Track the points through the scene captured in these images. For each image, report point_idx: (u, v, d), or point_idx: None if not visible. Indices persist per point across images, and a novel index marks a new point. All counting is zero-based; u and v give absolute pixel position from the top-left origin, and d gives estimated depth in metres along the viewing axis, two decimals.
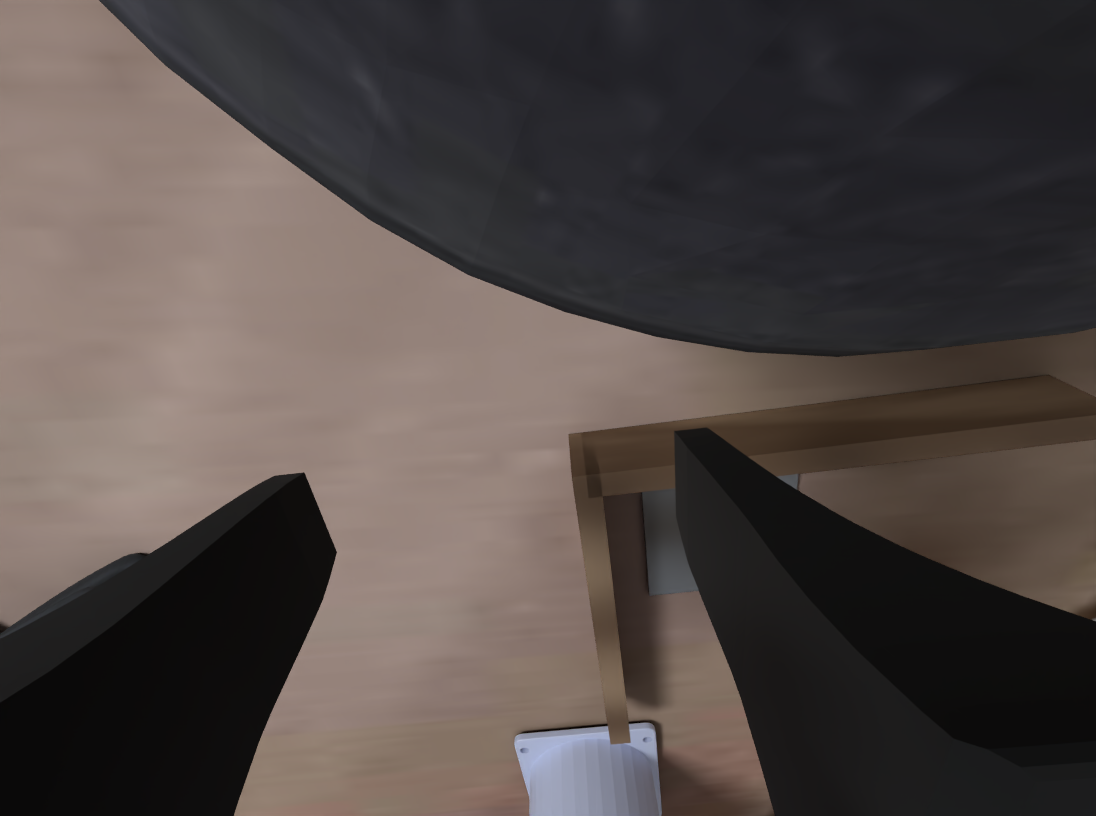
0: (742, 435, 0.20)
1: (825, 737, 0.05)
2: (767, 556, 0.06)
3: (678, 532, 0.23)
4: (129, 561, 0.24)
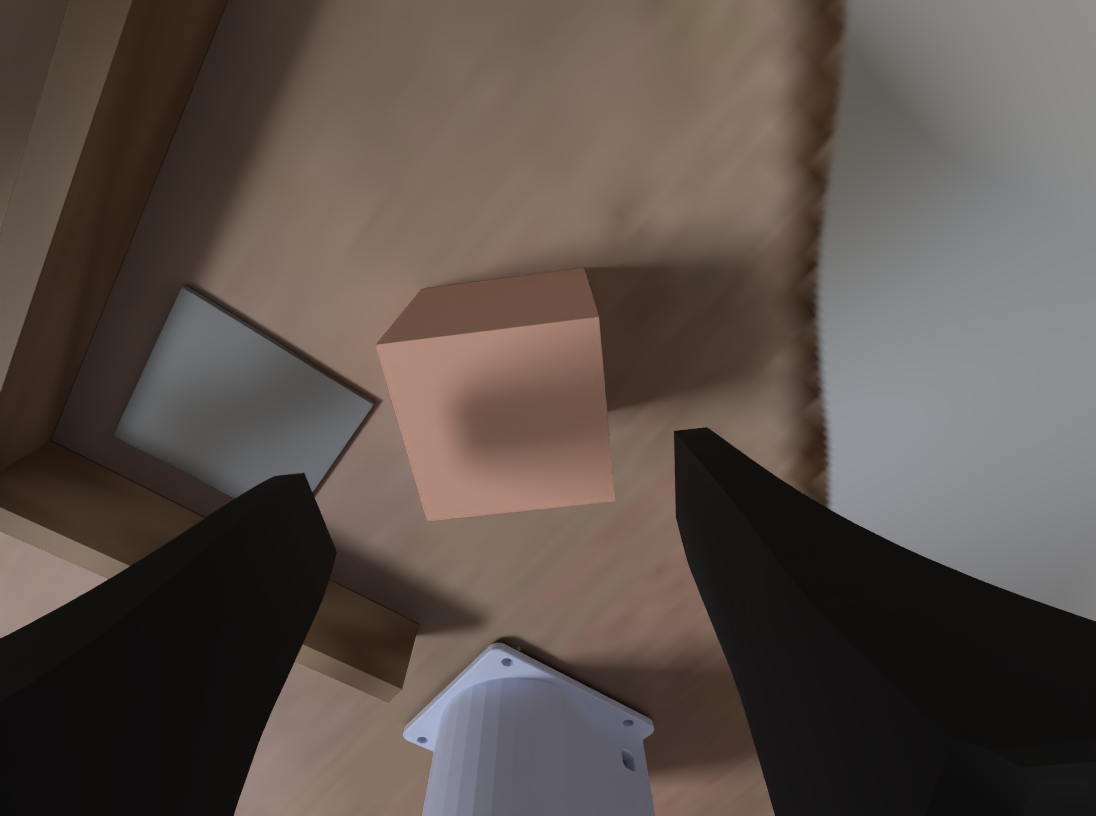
0: None
1: (825, 737, 0.05)
2: (767, 556, 0.06)
3: (208, 449, 0.18)
4: None
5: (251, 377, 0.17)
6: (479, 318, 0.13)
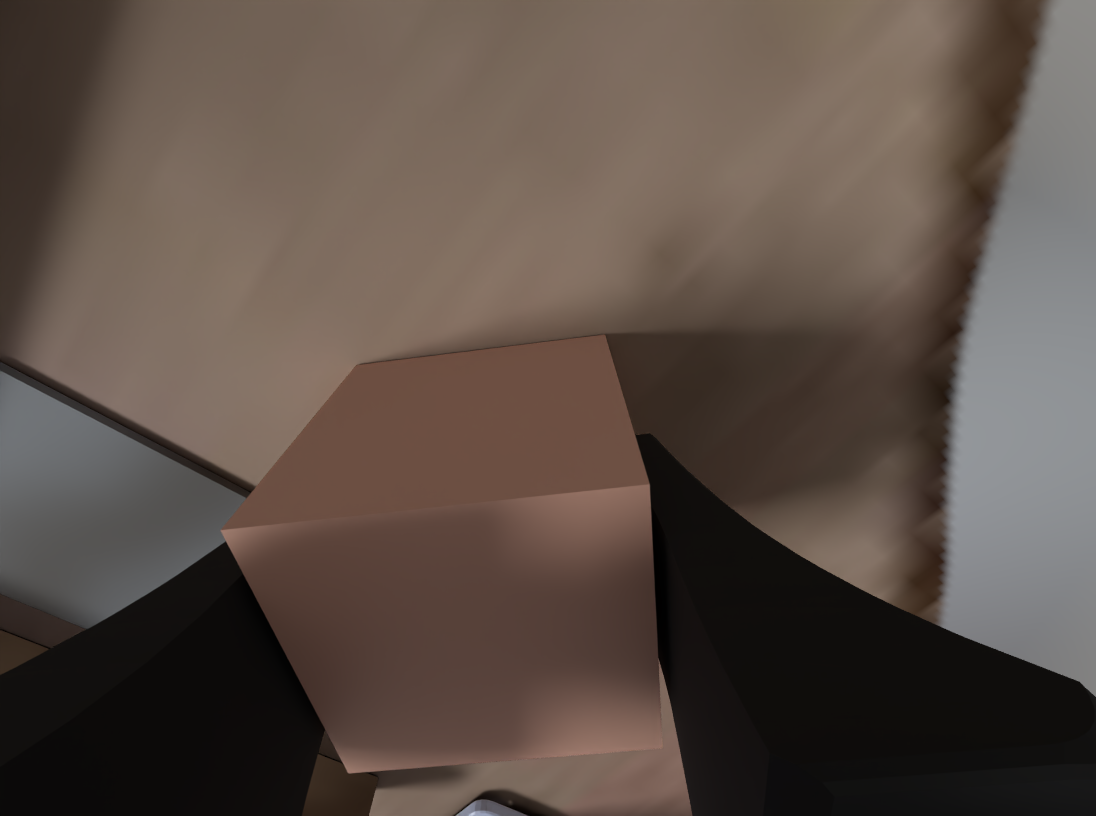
0: None
1: (711, 746, 0.05)
2: (674, 565, 0.06)
3: (64, 580, 0.13)
4: None
5: (112, 487, 0.12)
6: (425, 461, 0.07)
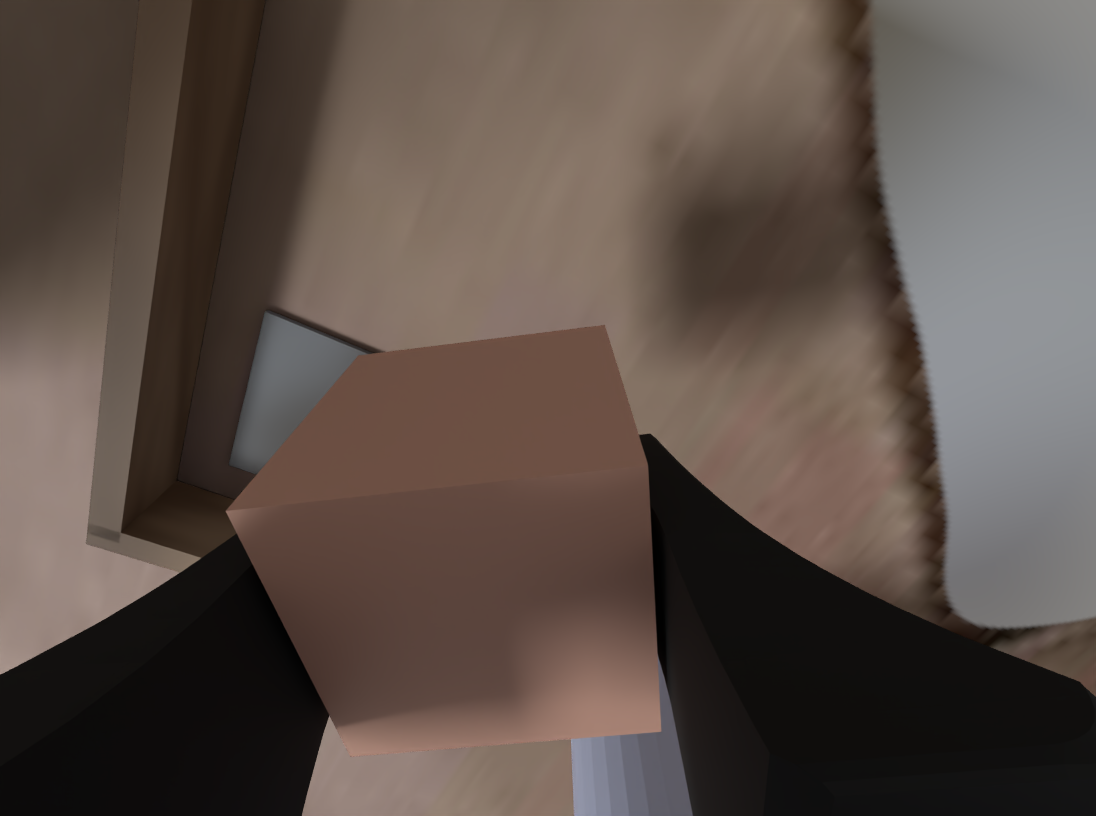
0: None
1: (712, 746, 0.05)
2: (674, 565, 0.06)
3: None
4: None
5: None
6: (427, 445, 0.07)
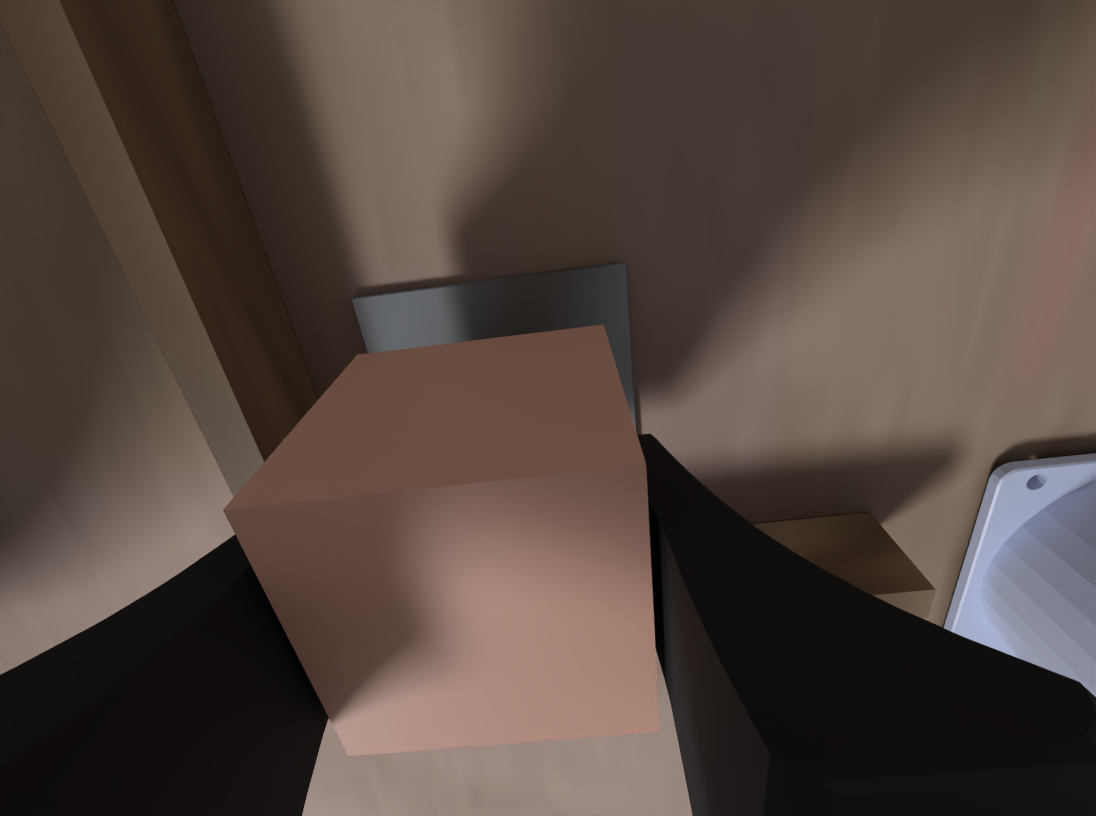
0: None
1: (712, 746, 0.05)
2: (674, 565, 0.06)
3: None
4: None
5: None
6: (425, 444, 0.07)
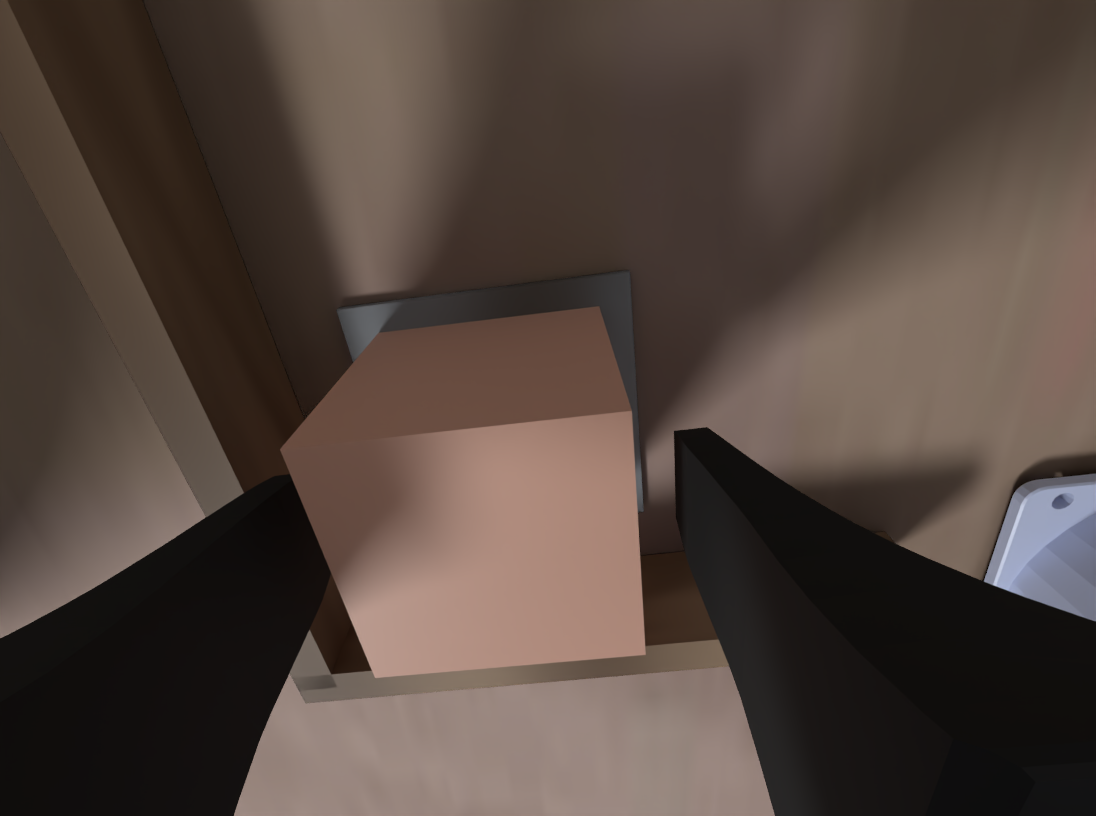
0: None
1: (825, 737, 0.05)
2: (767, 556, 0.06)
3: None
4: None
5: None
6: (446, 399, 0.08)
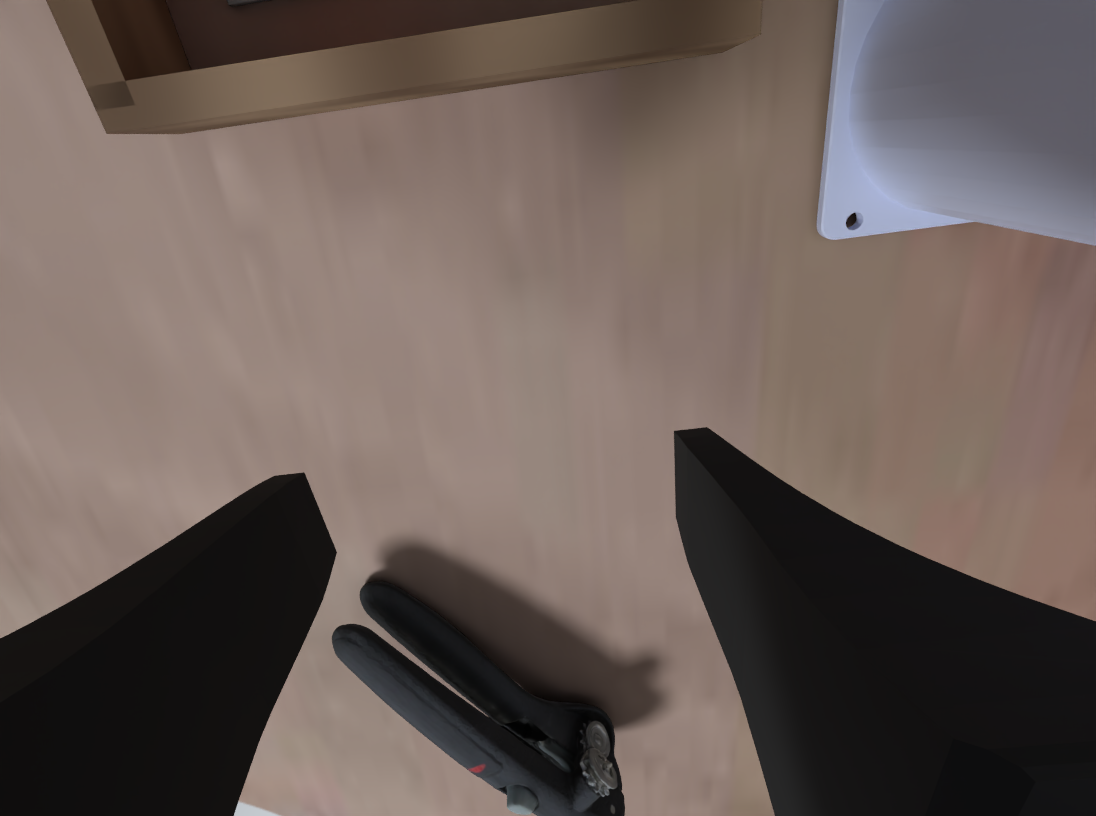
0: None
1: (825, 737, 0.05)
2: (767, 556, 0.06)
3: None
4: None
5: None
6: None
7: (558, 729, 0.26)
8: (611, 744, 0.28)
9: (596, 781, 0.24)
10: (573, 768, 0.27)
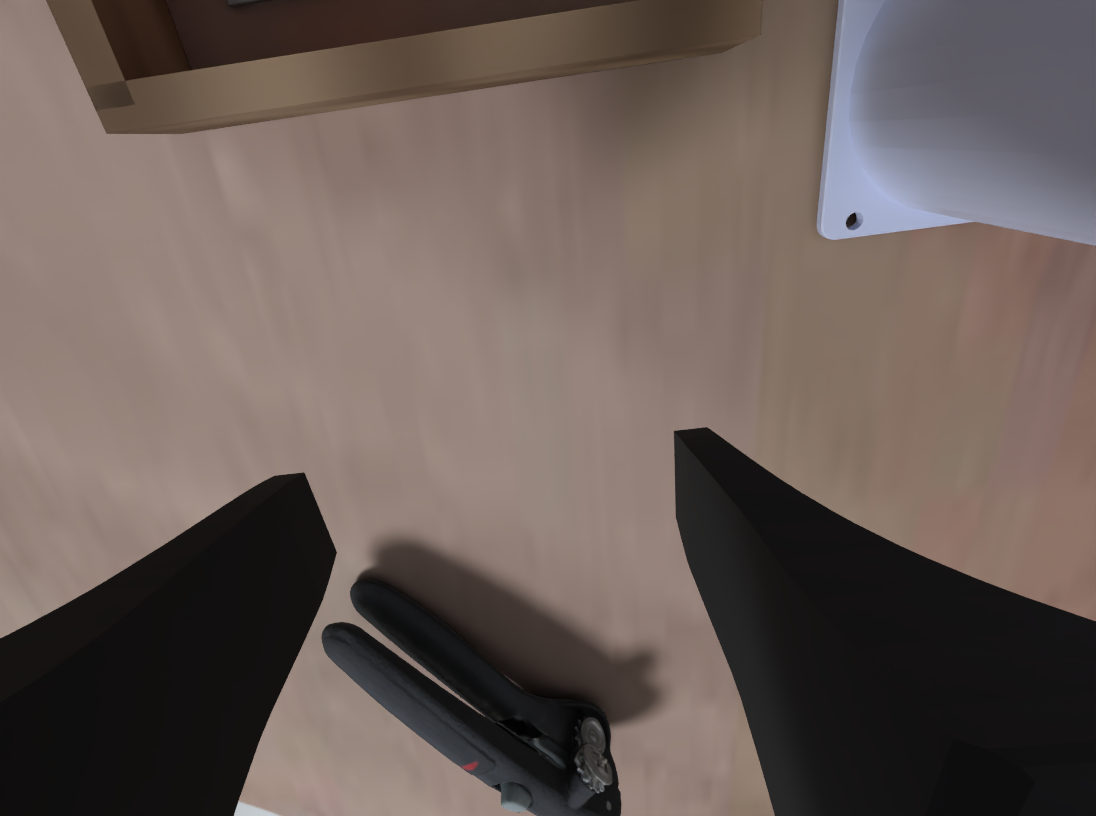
0: None
1: (825, 737, 0.05)
2: (767, 556, 0.06)
3: None
4: None
5: None
6: None
7: (552, 726, 0.26)
8: (607, 740, 0.27)
9: (591, 777, 0.24)
10: (569, 765, 0.26)
